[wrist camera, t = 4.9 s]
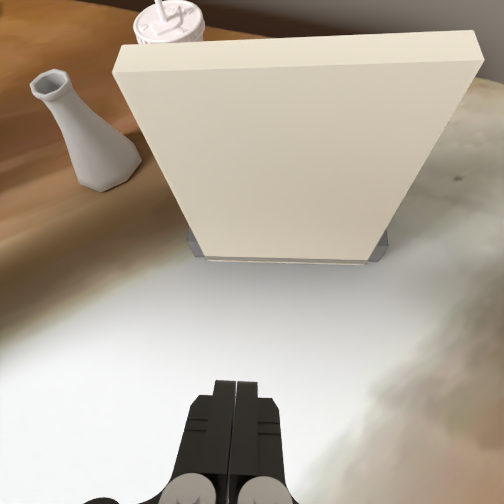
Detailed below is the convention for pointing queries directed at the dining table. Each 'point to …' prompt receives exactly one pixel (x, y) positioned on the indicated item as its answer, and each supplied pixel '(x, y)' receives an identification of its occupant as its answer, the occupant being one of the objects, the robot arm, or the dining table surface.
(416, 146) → the panel
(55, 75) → the flask
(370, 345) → the dining table surface
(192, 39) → the smoothie
